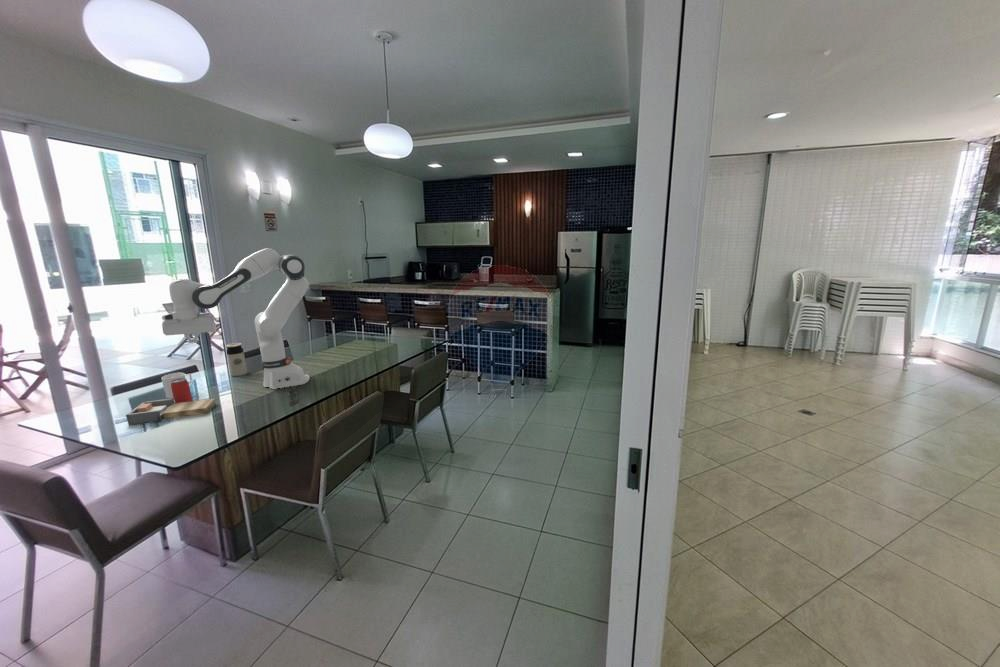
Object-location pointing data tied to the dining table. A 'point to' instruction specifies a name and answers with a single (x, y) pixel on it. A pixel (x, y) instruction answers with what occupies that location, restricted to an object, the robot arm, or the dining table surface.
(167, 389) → the mug
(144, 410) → the tile terracotta
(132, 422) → the box
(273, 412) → the dining table surface
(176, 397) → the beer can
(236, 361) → the travel mug
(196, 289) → the robot arm
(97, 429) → the dining table surface
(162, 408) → the tile ivory
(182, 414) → the wooden board
